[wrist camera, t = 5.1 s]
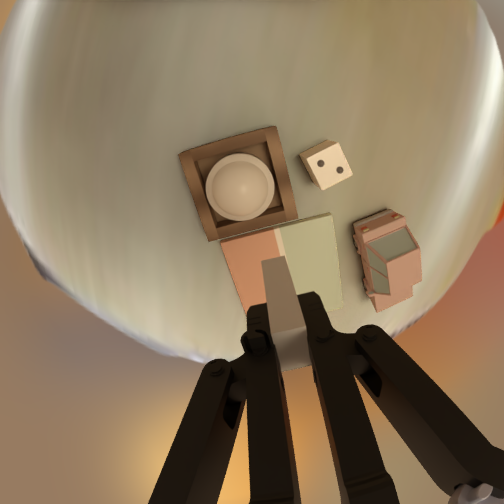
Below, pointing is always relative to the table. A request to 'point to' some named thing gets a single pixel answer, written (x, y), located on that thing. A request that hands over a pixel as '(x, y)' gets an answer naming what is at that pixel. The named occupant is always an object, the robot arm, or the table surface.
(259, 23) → the table surface
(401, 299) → the toy car
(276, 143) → the dome housing
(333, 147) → the die
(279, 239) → the board
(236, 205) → the dome
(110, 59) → the table surface
